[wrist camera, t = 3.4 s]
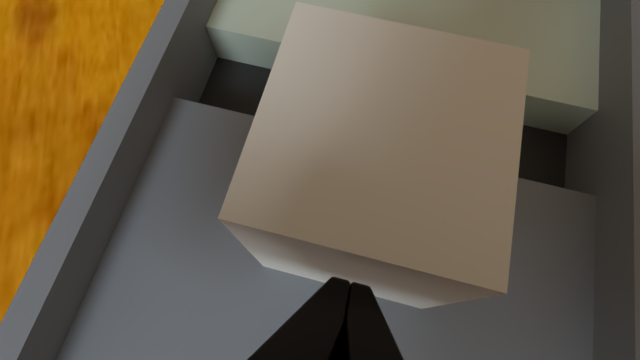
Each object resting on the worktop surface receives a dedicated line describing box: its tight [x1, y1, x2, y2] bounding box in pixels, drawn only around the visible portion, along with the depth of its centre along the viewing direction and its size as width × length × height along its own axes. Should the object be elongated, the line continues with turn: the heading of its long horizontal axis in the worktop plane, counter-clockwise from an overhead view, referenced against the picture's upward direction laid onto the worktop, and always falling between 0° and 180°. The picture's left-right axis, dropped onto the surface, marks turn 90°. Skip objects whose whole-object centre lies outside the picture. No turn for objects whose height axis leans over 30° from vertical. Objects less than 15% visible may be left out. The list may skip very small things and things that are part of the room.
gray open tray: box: [0, 0, 640, 360], centre depth 17 cm, size 26×20×5 cm
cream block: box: [218, 2, 530, 309], centre depth 12 cm, size 6×6×7 cm
